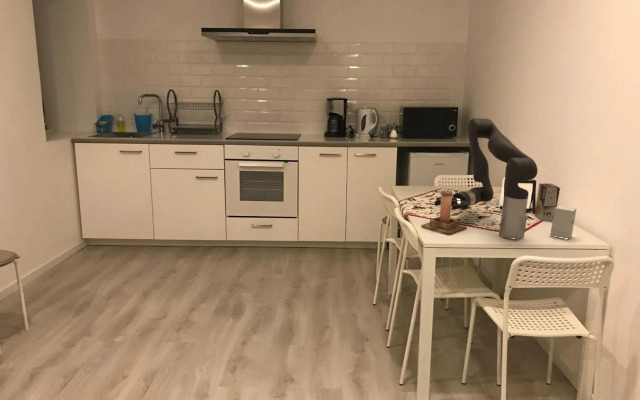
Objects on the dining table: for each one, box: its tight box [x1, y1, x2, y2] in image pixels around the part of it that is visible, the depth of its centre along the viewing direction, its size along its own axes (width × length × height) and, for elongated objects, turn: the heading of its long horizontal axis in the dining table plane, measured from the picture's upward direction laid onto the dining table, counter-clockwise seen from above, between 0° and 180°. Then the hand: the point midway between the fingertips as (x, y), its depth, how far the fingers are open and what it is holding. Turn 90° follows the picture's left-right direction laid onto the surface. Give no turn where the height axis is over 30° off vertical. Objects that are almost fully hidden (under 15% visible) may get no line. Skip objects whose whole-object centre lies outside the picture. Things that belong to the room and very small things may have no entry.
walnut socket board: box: [420, 216, 468, 236], centre depth 225 cm, size 14×14×4 cm
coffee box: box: [534, 182, 561, 222], centre depth 245 cm, size 9×6×16 cm
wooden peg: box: [439, 190, 453, 224], centre depth 223 cm, size 5×5×15 cm
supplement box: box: [550, 204, 577, 239], centre depth 219 cm, size 7×7×13 cm
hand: (443, 205), depth 221 cm, fingers open, 8 cm apart
